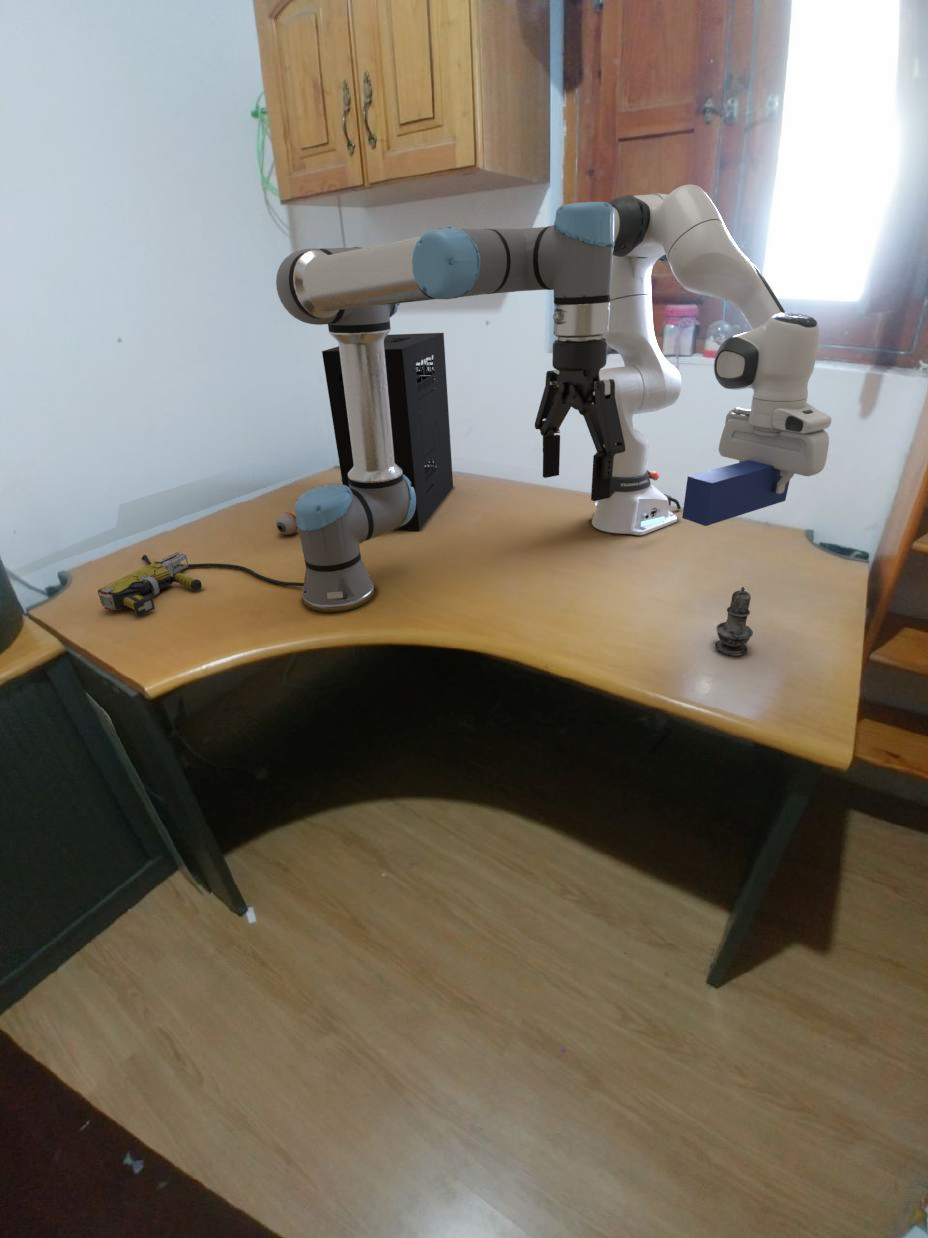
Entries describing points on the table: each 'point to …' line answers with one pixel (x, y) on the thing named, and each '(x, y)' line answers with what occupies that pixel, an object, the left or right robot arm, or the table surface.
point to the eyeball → (286, 523)
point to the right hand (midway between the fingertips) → (762, 488)
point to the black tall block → (406, 417)
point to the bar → (731, 492)
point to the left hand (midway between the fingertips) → (574, 487)
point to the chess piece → (735, 626)
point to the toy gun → (146, 585)
